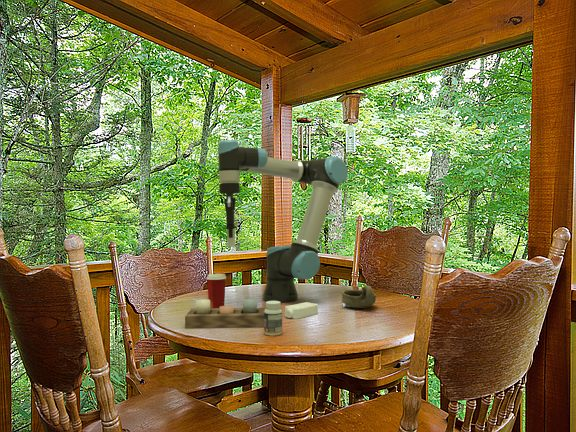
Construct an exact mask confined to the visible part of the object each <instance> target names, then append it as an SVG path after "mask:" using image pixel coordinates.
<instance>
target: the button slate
mask: <svg viewBox="0 0 576 432" xmlns="http://www.w3.org/2000/svg"><path fill="white" fill-rule="evenodd" d="M242 308H243V313H257V308H258V299H257V298H244V299H242Z"/></svg>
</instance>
